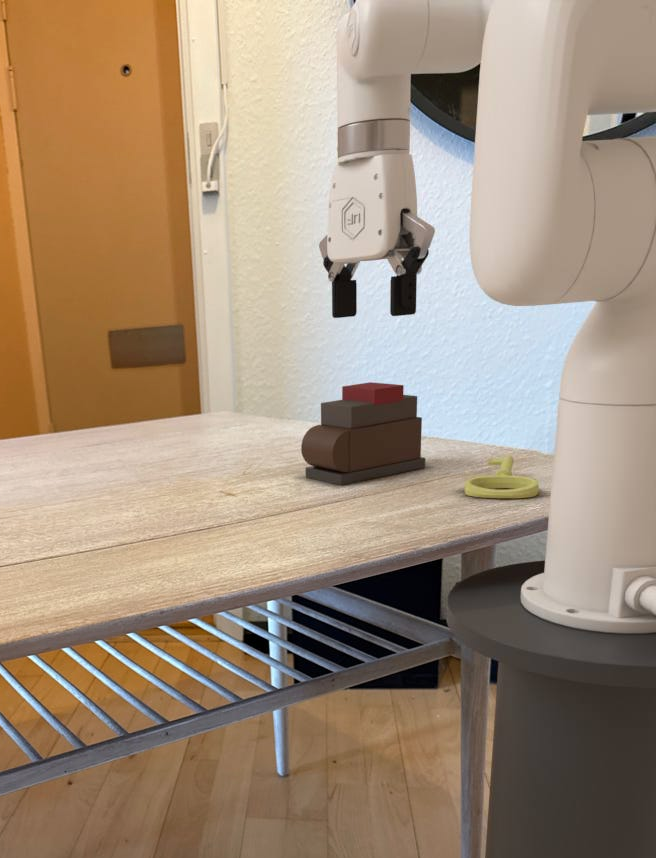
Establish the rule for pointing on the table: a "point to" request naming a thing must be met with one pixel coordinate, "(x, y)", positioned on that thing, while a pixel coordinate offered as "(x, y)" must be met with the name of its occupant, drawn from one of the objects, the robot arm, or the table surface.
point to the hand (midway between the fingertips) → (372, 316)
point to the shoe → (362, 451)
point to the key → (502, 483)
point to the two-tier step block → (369, 406)
